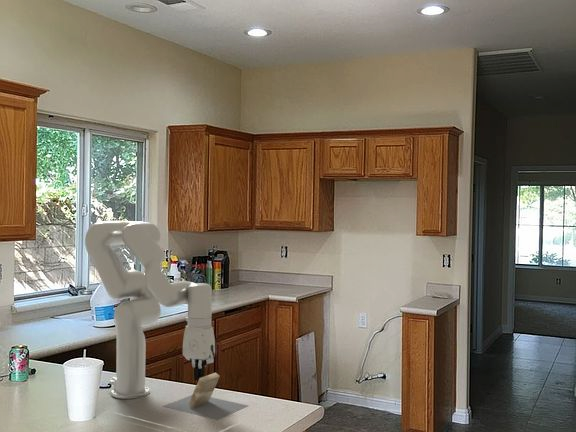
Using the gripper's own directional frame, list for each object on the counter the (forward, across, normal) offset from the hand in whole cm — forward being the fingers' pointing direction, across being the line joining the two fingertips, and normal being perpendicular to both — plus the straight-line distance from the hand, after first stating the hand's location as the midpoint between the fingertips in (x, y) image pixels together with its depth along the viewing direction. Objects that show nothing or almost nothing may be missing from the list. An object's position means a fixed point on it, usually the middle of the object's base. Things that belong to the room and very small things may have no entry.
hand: (199, 379), depth 201 cm
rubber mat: (+8, +3, 0) cm, 9 cm away
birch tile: (+8, 0, 0) cm, 8 cm away
